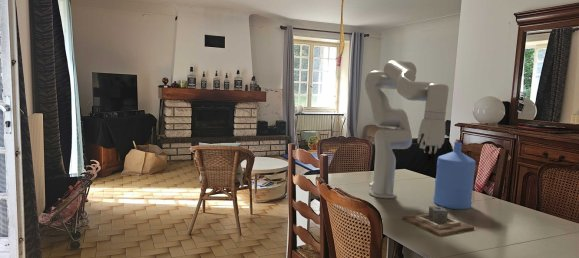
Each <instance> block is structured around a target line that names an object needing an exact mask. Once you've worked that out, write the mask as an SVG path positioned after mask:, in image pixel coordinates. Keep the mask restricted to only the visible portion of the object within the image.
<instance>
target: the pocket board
mask: <svg viewBox="0 0 579 258" xmlns="http://www.w3.org/2000/svg"><path fill="white" fill-rule="evenodd" d="M428 215H429V212H425V213H424V212H423V213H416V214H411V215H404V216H402V220H404V221H406V222H408V223H411V224H412V225H414V224H415V225H414V226H417V227H419V228H421V227H422V228H421V229H423V228H424V230H425V229H426V230H425V231H427V230H428V232H429V231H430V233H432V234H433V235H436V236H438V237H442V236H443V237H444V236H447V235H453V234H458V233H463V232H468V231H473V230H475V226H473V225H471V224H469V223H465V222H463V221H461V220H457V219H455V218H453V217H451V216H447V223H445V224H436V223H434V222H432V221H430V220H429V219H428Z"/></svg>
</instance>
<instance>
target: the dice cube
mask: <svg viewBox="0 0 579 258" xmlns="http://www.w3.org/2000/svg"><path fill="white" fill-rule="evenodd" d="M428 213H429V215H428V219H429V220H430V221H432V222H434V223H436V224H445V223H447V216H448V213H449V210H447V208H445V207H442V206H434V205H432V206H428ZM448 217H449V216H448Z"/></svg>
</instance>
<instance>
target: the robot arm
mask: <svg viewBox="0 0 579 258" xmlns="http://www.w3.org/2000/svg"><path fill="white" fill-rule="evenodd" d="M416 77H417V67H416V65H415V64H414V63H413V62H412V61H404V60H389V61H388V62H386V64H385V65H383V70H372V71H370V72H368V73H367V74H366V77H365V78H364V79H365V80H364V88H365V92H366V95H367V98H368V99H369V102H370V107H371V113H372V117H373V121H374V124H375V126H377V127H378V128H381V129H378V130H377V131H376V132H375V134H374V148H375V150H374V151H375V152H374V169H373V178H372V179H373V181H372V182H371V183H369V184H368V186H369V187H371V189H370V190H369V191H368V193H369V195H370V196H372V197H374V198H375V197H376V198H380V199H394V198H396V197H397V193H396V192H395V191H394V186H395V176H396V175H395V174H396V163H397V159H396V156H395V153H394V152H393V150H407V149H409V148H410V147H411V146H412V144H413V134H412V131H411V127H410V126H411V125H410V121H409V118H408V115H407V112H406V111H405V110H404V109H402V108H399V107H391V106H390V102H389V101H390V100H389V98H388V96H387V95H386V94H385V92H384V91H382V89H383V90H384V89H385V90H396V92H397V93H398V95H400V96H402V97H403V98H404V99H406V100H408V101H415V102H417V101H418V102H419V101H420V102H421V101H422V102H425V105H424V112H423V113H424V114H423V118H422V119H421V122H420V126H419V128H418V129H419V130H418V134H417V144H419V149H422V150H423V152H424V153H425V154H424V159H423V161H424V163H425V164H429V165H431V164H432V165H433V164H435V163H434V161H435V154H436V153H437V151H438V150H439V149H441V148H442V146H443V145H444V143H445V139H446V114H447V113H446V112H447V106H448V105H447V104H448V98H449V91H450V89H449V86H448V84H445V83H436V82H431V81H430V82H429V81H416Z"/></svg>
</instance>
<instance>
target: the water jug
mask: <svg viewBox="0 0 579 258" xmlns="http://www.w3.org/2000/svg"><path fill="white" fill-rule="evenodd" d="M453 143H454V145H453V151H451V152H447V153H445V154H442V155H439V156H438V157H437V162H436V175H435V182H434V183H435V185H434V193H433V202H434V203H435V204H436V205H438V206H439V207H443V208H445V209H451V210H452V209H453V210H459V211H460V210H461V211H462V210H468V209H470V208H471V207H472V205H473V204H472V203H473V201H472V196H473V189H474V180H475V179H474V178H475V171H476V160H475V159H474V158H472V157H471V156H468V155H467V154H465V153H463V152H462V148H463V147H462V145H463V143H462V142H459V141H457V142H455V141H454V142H453Z"/></svg>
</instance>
